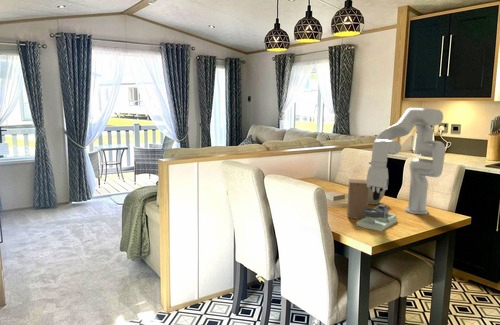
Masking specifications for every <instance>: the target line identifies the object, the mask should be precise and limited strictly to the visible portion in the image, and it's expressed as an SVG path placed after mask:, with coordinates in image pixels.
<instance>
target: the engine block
mask: <svg viewBox="0 0 500 325" xmlns="http://www.w3.org/2000/svg"><path fill="white" fill-rule="evenodd" d="M374 208H376V209H380V210H382V211H383V216H382V217H381V218H388V213H389V211H390V210H389V209H390V207H389V206H387V204H384V203H383V204H382V203H381V204H380V203H379V204H377V206H375V207H374Z"/></svg>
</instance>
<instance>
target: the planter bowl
mask: <svg viewBox="0 0 500 325" xmlns="http://www.w3.org/2000/svg"><path fill="white" fill-rule="evenodd" d="M377 188H378V187H377ZM385 193H386V190H382V191H381V192H380V198H379V200H373V192H372V190H371V188H368V203H367V205H374V206H375V205H380V202H381V200H382V199H383V197H385Z"/></svg>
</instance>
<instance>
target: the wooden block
mask: <svg viewBox="0 0 500 325" xmlns="http://www.w3.org/2000/svg"><path fill="white" fill-rule="evenodd" d="M366 180H367V179H358V178H357V179H356V178H355V179H354V178H350V179H348V191H347V207H346V208H347V209H346V212H347V218H350V219H351V218H352V219H353V218H354V219H363V218H365V217H366V216H365V215H364V214H363V209H366V208H368V204H367V203H368V188H369V187H367V184H366Z"/></svg>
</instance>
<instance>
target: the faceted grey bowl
mask: <svg viewBox="0 0 500 325" xmlns="http://www.w3.org/2000/svg"><path fill="white" fill-rule="evenodd" d="M373 211H376V212H373ZM363 214H364V215H365V216H367V217H371V218H380V217H382V216H383V211H382V210H380V209H376V208H375V207H367V208H366V209H363Z"/></svg>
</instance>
